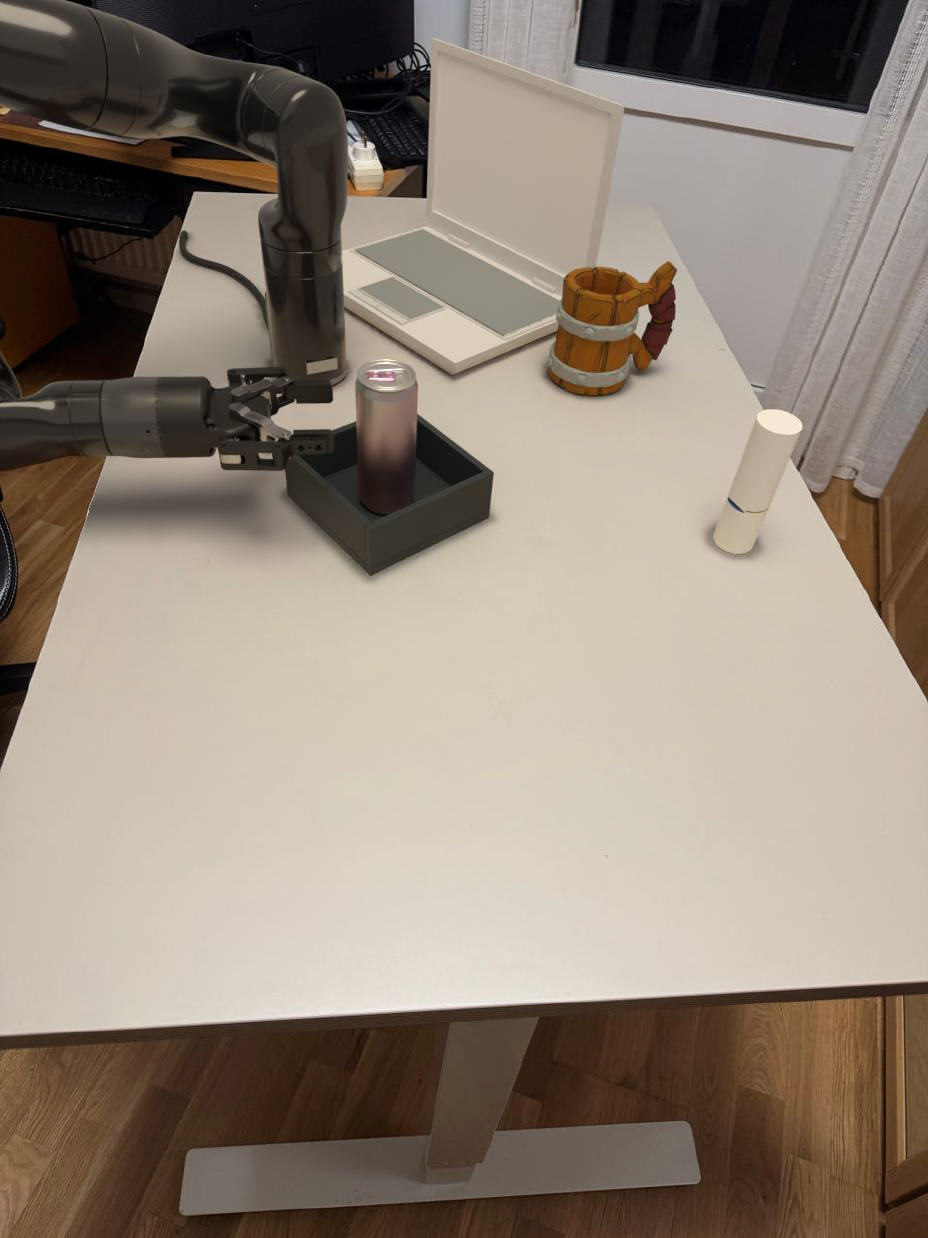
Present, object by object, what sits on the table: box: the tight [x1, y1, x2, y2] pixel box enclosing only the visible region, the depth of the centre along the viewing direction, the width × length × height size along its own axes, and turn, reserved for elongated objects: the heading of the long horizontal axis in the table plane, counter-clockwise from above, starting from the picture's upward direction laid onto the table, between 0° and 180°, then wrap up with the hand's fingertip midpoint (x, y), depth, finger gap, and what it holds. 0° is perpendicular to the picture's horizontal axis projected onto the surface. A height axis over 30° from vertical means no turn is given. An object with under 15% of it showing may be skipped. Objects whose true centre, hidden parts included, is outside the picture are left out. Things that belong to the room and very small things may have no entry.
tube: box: [712, 408, 803, 555], centre depth 85 cm, size 4×4×15 cm
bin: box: [284, 413, 495, 576], centre depth 89 cm, size 16×16×6 cm
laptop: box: [342, 37, 626, 376], centre depth 114 cm, size 35×26×28 cm
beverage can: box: [354, 358, 419, 515], centre depth 85 cm, size 6×6×15 cm
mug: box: [546, 261, 678, 397], centre depth 108 cm, size 11×16×15 cm, turn 102°
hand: (333, 415), depth 82 cm, fingers open, 8 cm apart
